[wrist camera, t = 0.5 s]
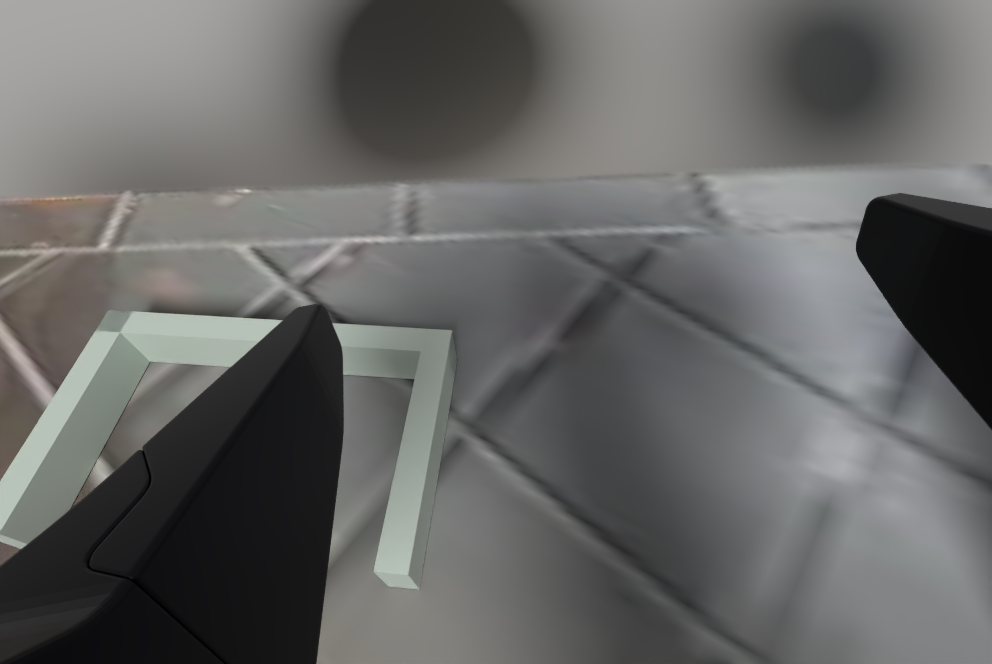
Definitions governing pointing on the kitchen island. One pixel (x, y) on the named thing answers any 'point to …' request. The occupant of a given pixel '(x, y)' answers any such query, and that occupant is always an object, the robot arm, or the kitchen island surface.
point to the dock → (222, 342)
